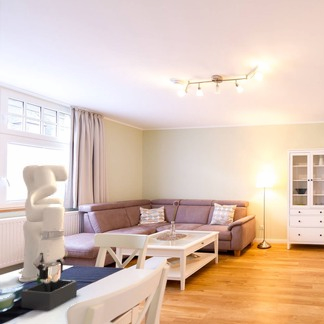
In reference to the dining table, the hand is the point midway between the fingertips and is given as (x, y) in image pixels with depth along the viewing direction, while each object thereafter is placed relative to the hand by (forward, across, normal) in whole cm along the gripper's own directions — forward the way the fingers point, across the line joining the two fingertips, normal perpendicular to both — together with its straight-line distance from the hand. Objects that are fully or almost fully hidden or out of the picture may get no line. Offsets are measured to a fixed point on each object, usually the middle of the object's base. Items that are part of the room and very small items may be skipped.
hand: (51, 275), depth 119 cm
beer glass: (+10, 0, 0) cm, 10 cm away
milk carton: (+11, -14, -16) cm, 24 cm away
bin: (+11, 0, 0) cm, 11 cm away
